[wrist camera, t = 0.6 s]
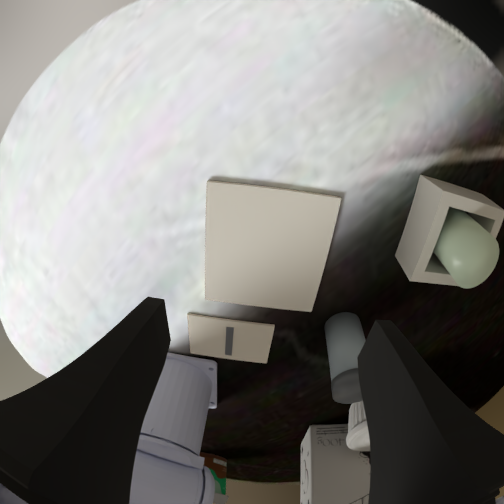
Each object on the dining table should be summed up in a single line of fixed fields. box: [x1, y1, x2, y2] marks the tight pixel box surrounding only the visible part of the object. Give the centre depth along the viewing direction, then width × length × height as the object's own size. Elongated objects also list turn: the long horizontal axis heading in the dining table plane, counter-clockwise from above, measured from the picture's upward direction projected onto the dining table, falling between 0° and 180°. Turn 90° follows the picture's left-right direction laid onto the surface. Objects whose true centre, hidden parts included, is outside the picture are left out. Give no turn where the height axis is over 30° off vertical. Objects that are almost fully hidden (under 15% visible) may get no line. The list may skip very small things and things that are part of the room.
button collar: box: [395, 174, 504, 286], centre depth 15 cm, size 6×6×3 cm
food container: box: [199, 452, 228, 504], centre depth 38 cm, size 12×6×10 cm, turn 119°
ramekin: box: [346, 401, 370, 451], centre depth 26 cm, size 11×11×5 cm
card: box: [187, 313, 275, 363], centre depth 24 cm, size 5×7×1 cm
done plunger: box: [433, 207, 499, 288], centre depth 14 cm, size 4×4×4 cm
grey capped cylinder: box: [324, 312, 366, 404], centre depth 19 cm, size 3×3×6 cm
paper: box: [205, 180, 341, 312], centre depth 19 cm, size 9×8×1 cm
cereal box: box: [300, 424, 371, 504], centre depth 23 cm, size 22×8×25 cm, turn 89°
